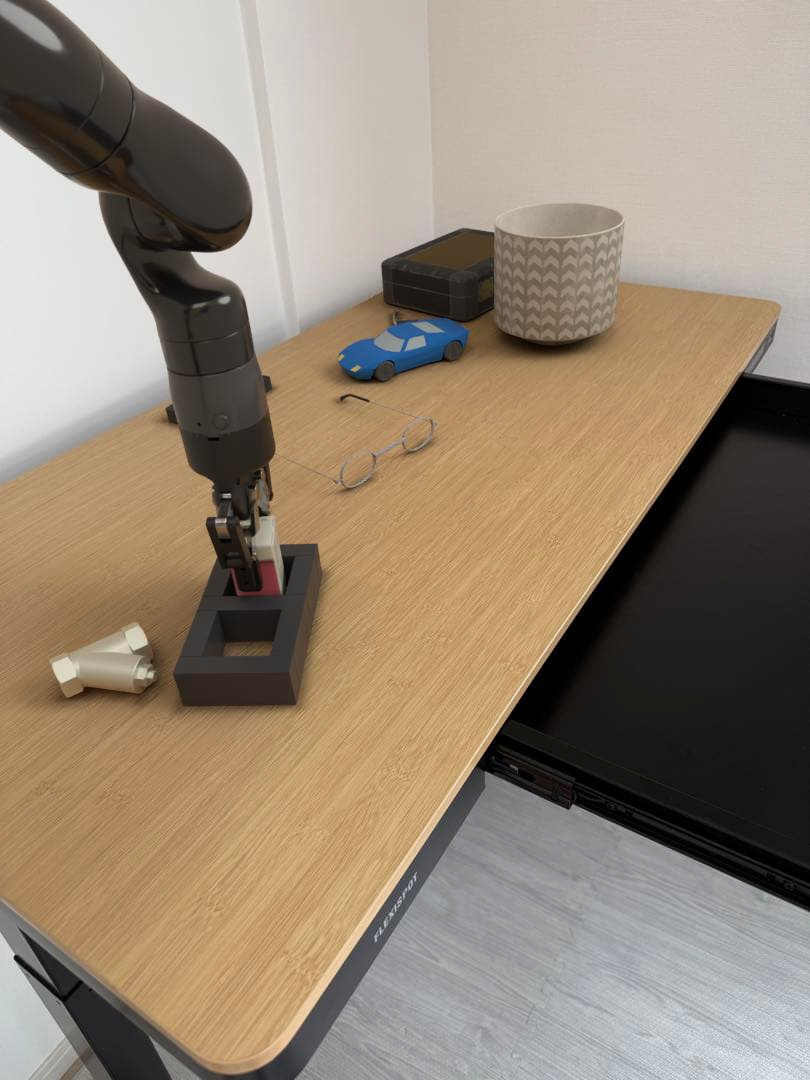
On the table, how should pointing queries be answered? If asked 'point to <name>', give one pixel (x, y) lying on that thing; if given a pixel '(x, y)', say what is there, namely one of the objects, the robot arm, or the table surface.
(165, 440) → the table surface
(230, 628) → the socket block
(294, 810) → the table surface
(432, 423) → the eyeglasses
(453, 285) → the jewelry box
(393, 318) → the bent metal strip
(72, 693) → the pipe fitting
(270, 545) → the small box
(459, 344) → the toy car
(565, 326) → the planter
